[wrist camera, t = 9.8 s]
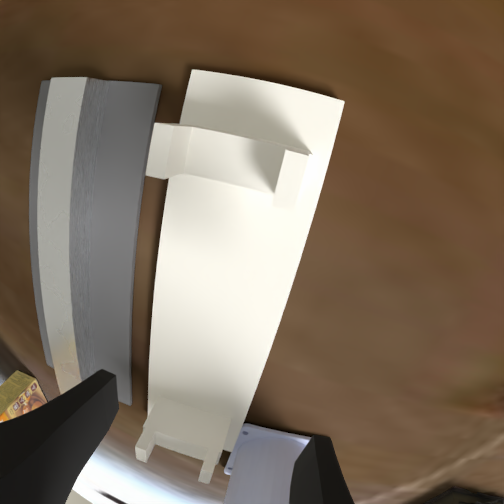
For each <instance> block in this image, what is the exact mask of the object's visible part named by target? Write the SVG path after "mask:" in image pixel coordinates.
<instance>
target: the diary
mask: <svg viewBox="0 0 504 504" xmlns="http://www.w3.org/2000/svg"><path fill="white" fill-rule="evenodd" d="M423 504H504V498H502V497H497V496H491V495H486V494H483V493H479V492H477V494H475V493H471V492H470V491H468V490H466V489H463V488H459V487H456V486H454V487H452V488H450V489H449V490H447V491H445V492H443V493H442V494H440V495H438V496H436V497H434V498H433V499H431V500H429V501H427V502H425V503H423Z"/></svg>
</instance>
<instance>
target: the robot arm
mask: <svg viewBox="0 0 504 504" xmlns="http://www.w3.org/2000/svg"><path fill="white" fill-rule="evenodd" d="M118 410H119V404H118V392H117V378H116V375H115V374H113V373H111V372H108V371H106V370H104V369H100V370H98V371H97V372H96V373H94V374H93V375H91V376H90V377H88V378H87V379H85V380H84V381H82V382H81V383H79V384H77V385H76V386H74V387H73V388H71V389H70V390H68V391H66V392H65V393H63V394H61V395H60V396H58V397H56V398H55V399H53V400H51V401H49V402H47V403H45V404H44V405H42V406H40V407H38V408H36V409H34V410H32V411H30V412H27V413H25V414H23V415H20V416H18V417H15V418H13V419H10V420H7V421H4V422H1V423H0V504H65V502H66V500H67V498H68V496H69V494H70V492H71V489H72V487H73V485H74V483H75V481H76V479H77V477H78V476H79V474H80V472H81V470H82V469H83V467H84V466H85V464H86V463H87V461H88V460H89V458H90V457H91V455H92V454H93V452H94V451H95V449H96V448H97V447H98V445H99V444H100V442H101V441H102V439H103V438H104V436H105V435H106V433H107V431H108V430H109V428H110V426H111V424H112V422H113V420H114V418H115V416H116V414H117V412H118ZM224 472H225V473H226V474H228V475H231V477H230V480H229V484H228V488H227V492H226V496H225V500H224V503H223V504H354V502H353V499H352V497H351V495H350V492H349V490H348V487H347V485H346V482H345V480H344V477H343V474H342V472H341V469H340V466H339V463H338V460H337V457H336V454H335V451H334V447H333V444H332V441H331V439H330V437H325V436H319V435H313V436H312V437H307V436H302V435H296V434H291V433H287V432H282V431H277V430H273V429H268V428H264V427H260V426H256V425H252V424H247V423H245V424H243V425H242V428H241V431H240V433H239V436H238V438H237V441H236V443H235V446H234V448H233V451H232V452H231V454H230V456H229V459H228V461H227V464H226V466H225V469H224Z"/></svg>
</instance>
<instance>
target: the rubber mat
mask: <svg viewBox="0 0 504 504" xmlns="http://www.w3.org/2000/svg"><path fill="white" fill-rule="evenodd" d="M50 82H51V80H46V81H42V82H41V87H40V92H39V98H38V104H37V110H36V117H35V124H34V132H33V142H32V152H31V165H30V185H29V233H30V253H31V266H32V277H33V286H34V295H35V302H36V309H37V316H38V322H39V328H40V333H41V339H42V344H43V348H44V353H45V358H46V362H47V365H49V366H50V367H52V368H54V365H53V360H52V355H51V350H50V345H49V340H48V334H47V328H46V322H45V315H44V308H43V300H42V291H41V282H40V270H39V255H38V230H37V199H38V175H39V160H40V149H41V139H42V131H43V123H44V116H45V110H46V103H47V98H48V92H49V87H50ZM161 88H162V85H160V84H151V83H139V82H125V81H110V84H109V89H108V93H107V98H106V103H105V109H104V114H103V120H102V126H101V132H100V138H99V145H98V152H97V160H96V168H95V178H94V188H93V200H92V214H91V234H90V305H91V325H92V339H93V351H94V361H95V370H96V372H97V371H98V370H100V369H104V370H106V371H108V372H111V373H113V374H115V375H116V378H117V392H118V401H120V402H122V403H125V404H127V405H129V406H131V404H132V379H131V333H132V303H133V284H134V269H135V256H136V245H137V235H138V225H139V216H140V208H141V200H142V193H143V185H144V179H145V172H146V166H147V159H148V153H149V148H150V142H151V137H152V131H153V126H154V121H155V116H156V111H157V106H158V102H159V97H160V93H161Z"/></svg>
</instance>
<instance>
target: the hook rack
mask: <svg viewBox="0 0 504 504" xmlns="http://www.w3.org/2000/svg"><path fill="white" fill-rule="evenodd" d="M344 102H345V101H342V100H338V99H335V98H332V97H328V96H325V95H321V94H317V93H314V92H310V91H306V90H302V89H298V88H294V87H290V86H286V85H281V84H277V83H272V82H267V81H262V80H257V79H252V78H247V77H241V76H236V75H229V74H223V73H216V72H209V71H202V70H194V69H192V72H191V76H190V80H189V84H188V88H187V92H186V97H185V101H184V105H183V110H182V114H181V119H180V124H176V123H171V124H169V123H154V128H153V134H152V139H151V144H150V150H149V156H148V162H147V168H146V175H147V176H151V177H156V178H160V179H167V178H169V182H168V188H167V194H166V200H165V207H164V214H163V221H162V228H161V235H160V243H159V251H158V259H157V268H156V278H155V288H154V299H153V310H152V323H151V338H150V356H149V381H148V418H147V419H146V421H145V423H144V425H143V433H142V434H141V436H140V438H139V440H138V442H137V444H136V446H135V450H136V459H138V460H140V461H143V462H145V463H146V462H147V460H148V458H149V456H150V454H151V452H152V450H153V448H154V446H155V444H157V445H159V446H162V447H165V448H167V449H170V450H173V451H176V452H179V453H182V454H185V455H188V456H191V457H194V458H197V459H200V460H204V463H203V466H202V469H201V472H200V476H199V480H198V481H200V482H203V483H207V484H209V482H210V479H211V476H212V474H213V470H214V467H215V464H218V462H219V459H220V456H221V453H222V450H226V451H230V452H232V451H233V448H234V446H235V443H236V441H237V438H238V436H239V433H240V431H241V428H242V425H243V423H244V420H245V418H246V415H247V412H248V410H249V407H250V404H251V402H252V399H253V396H254V394H255V391H256V388H257V385H258V383H259V380H260V377H261V374H262V372H263V369H264V366H265V363H266V360H267V358H268V355H269V352H270V349H271V346H272V343H273V340H274V338H275V335H276V332H277V329H278V326H279V323H280V320H281V317H282V314H283V311H284V308H285V305H286V302H287V299H288V296H289V293H290V290H291V287H292V284H293V280H294V277H295V274H296V271H297V268H298V265H299V262H300V258H301V255H302V252H303V249H304V245H305V242H306V239H307V236H308V232H309V229H310V226H311V222H312V219H313V216H314V212H315V209H316V205H317V202H318V198H319V195H320V192H321V188H322V185H323V181H324V177H325V174H326V170H327V167H328V163H329V159H330V156H331V152H332V148H333V145H334V141H335V137H336V133H337V129H338V125H339V122H340V118H341V114H342V110H343V106H344Z"/></svg>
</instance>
